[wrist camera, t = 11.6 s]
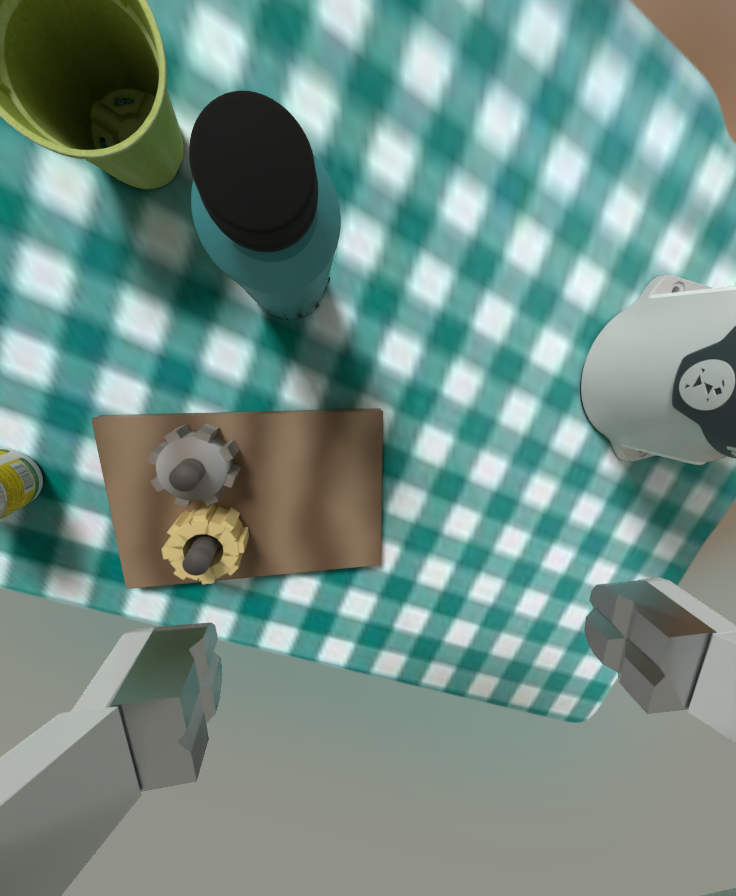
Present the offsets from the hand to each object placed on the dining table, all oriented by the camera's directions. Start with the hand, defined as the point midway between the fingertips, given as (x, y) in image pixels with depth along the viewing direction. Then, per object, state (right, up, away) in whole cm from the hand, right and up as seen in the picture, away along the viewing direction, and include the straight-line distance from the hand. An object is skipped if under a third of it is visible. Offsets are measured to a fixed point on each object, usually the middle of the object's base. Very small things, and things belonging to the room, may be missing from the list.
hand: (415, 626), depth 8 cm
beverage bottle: (-8, +18, +23) cm, 30 cm away
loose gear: (-15, -4, +26) cm, 30 cm away
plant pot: (-18, +26, +19) cm, 37 cm away
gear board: (-12, -1, +27) cm, 29 cm away
